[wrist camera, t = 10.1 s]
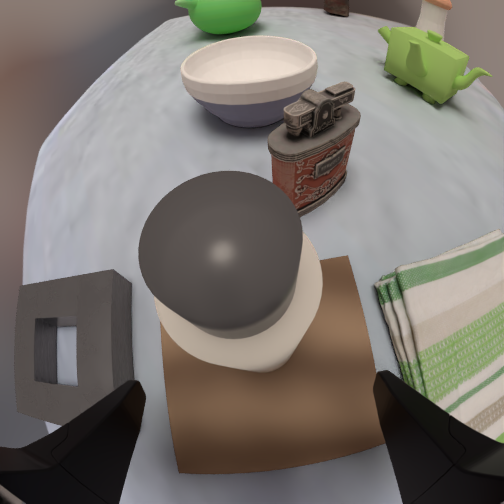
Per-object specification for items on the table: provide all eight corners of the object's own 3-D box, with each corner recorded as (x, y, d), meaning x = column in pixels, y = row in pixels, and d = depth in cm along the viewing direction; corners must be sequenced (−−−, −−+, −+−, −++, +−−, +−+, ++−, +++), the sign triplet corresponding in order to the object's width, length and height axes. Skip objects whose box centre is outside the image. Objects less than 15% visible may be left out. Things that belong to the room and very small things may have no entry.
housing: (140, 431, 15) (119, 437, 13) (39, 412, 16) (17, 411, 13) (131, 283, 21) (113, 269, 18) (39, 296, 21) (20, 285, 18)
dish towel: (491, 235, 20) (509, 217, 17) (538, 422, 10) (558, 420, 7) (365, 283, 20) (380, 265, 16) (419, 520, 9) (436, 535, 6)
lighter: (289, 229, 22) (293, 129, 13) (262, 203, 23) (252, 104, 14) (353, 180, 23) (377, 89, 14) (326, 160, 25) (339, 70, 16)
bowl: (177, 108, 31) (162, 61, 24) (268, 73, 34) (265, 29, 27) (230, 166, 25) (216, 102, 18) (340, 117, 28) (347, 62, 21)
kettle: (472, 124, 27) (495, 70, 17) (397, 104, 29) (414, 36, 19) (436, 77, 34) (449, 31, 24) (371, 61, 35) (378, 9, 25)
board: (381, 440, 14) (386, 443, 13) (183, 469, 14) (178, 473, 13) (344, 260, 20) (347, 255, 19) (164, 290, 20) (159, 286, 19)
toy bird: (268, 38, 41) (262, -23, 28) (185, 50, 42) (170, -9, 29) (259, 20, 49) (254, -27, 36) (193, 29, 50) (183, -16, 37)
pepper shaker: (403, 54, 38) (415, -19, 21) (414, 50, 40) (425, -15, 22) (433, 69, 35) (450, -5, 18) (441, 65, 37) (457, -2, 20)
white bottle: (280, 381, 16) (290, 403, 3) (223, 358, 17) (77, 296, 4) (302, 324, 17) (359, 178, 5) (246, 304, 18) (178, 138, 6)
